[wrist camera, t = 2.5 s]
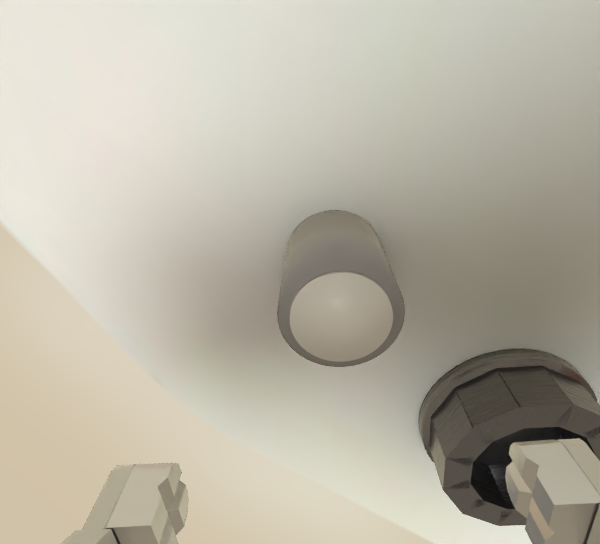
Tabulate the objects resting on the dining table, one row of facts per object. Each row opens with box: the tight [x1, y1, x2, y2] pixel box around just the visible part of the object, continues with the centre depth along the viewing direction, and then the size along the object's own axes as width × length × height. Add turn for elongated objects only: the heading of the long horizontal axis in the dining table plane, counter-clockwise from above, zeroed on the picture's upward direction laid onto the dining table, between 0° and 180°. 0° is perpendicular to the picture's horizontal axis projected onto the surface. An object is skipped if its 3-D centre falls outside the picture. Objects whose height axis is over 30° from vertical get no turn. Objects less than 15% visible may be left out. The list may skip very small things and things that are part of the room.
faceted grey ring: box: [419, 349, 600, 526], centre depth 24 cm, size 10×10×4 cm
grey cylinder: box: [277, 210, 405, 367], centre depth 18 cm, size 5×5×6 cm
